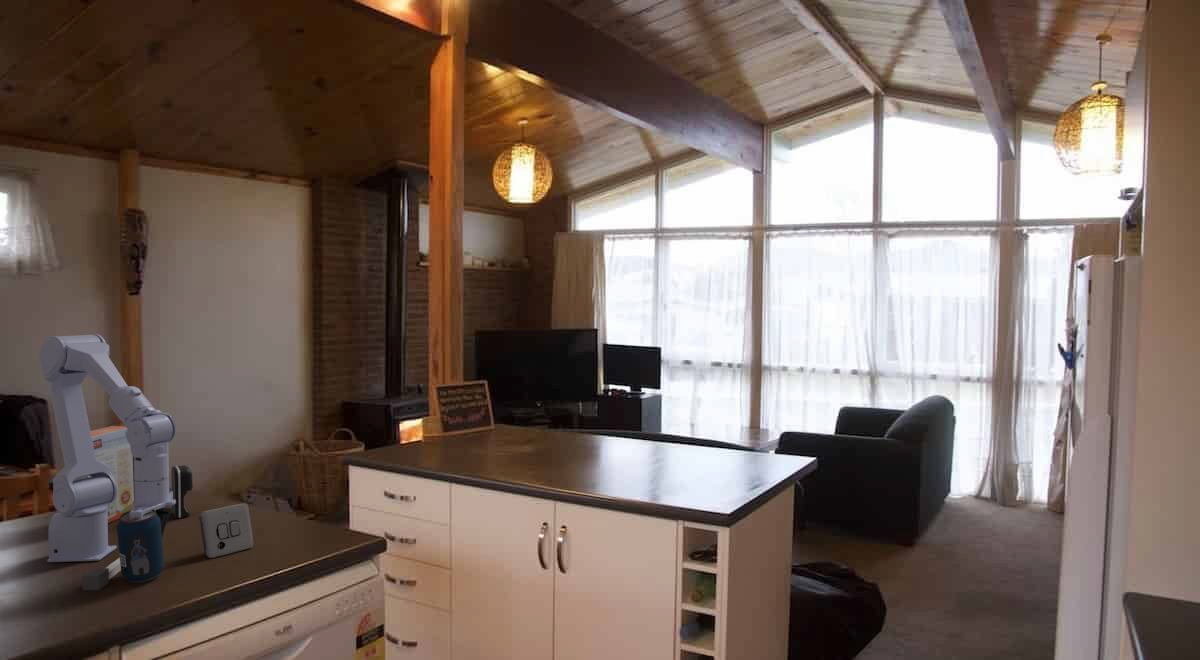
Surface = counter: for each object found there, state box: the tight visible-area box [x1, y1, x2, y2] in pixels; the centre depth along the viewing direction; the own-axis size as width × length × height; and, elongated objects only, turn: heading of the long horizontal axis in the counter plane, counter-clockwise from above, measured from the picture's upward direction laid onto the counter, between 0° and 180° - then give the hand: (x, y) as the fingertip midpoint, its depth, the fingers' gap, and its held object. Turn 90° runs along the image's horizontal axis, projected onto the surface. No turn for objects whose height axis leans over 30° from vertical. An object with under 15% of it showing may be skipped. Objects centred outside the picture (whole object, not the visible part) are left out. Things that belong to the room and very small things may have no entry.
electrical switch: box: [198, 503, 254, 559], centre depth 162 cm, size 9×5×9 cm, turn 141°
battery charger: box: [170, 465, 194, 519], centre depth 187 cm, size 7×4×11 cm, turn 35°
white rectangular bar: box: [81, 557, 121, 591], centre depth 152 cm, size 3×23×3 cm, turn 8°
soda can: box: [116, 509, 165, 584], centre depth 145 cm, size 7×7×12 cm
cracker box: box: [73, 425, 135, 524], centre depth 180 cm, size 14×6×21 cm, turn 172°
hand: (152, 548), depth 151 cm, fingers closed
